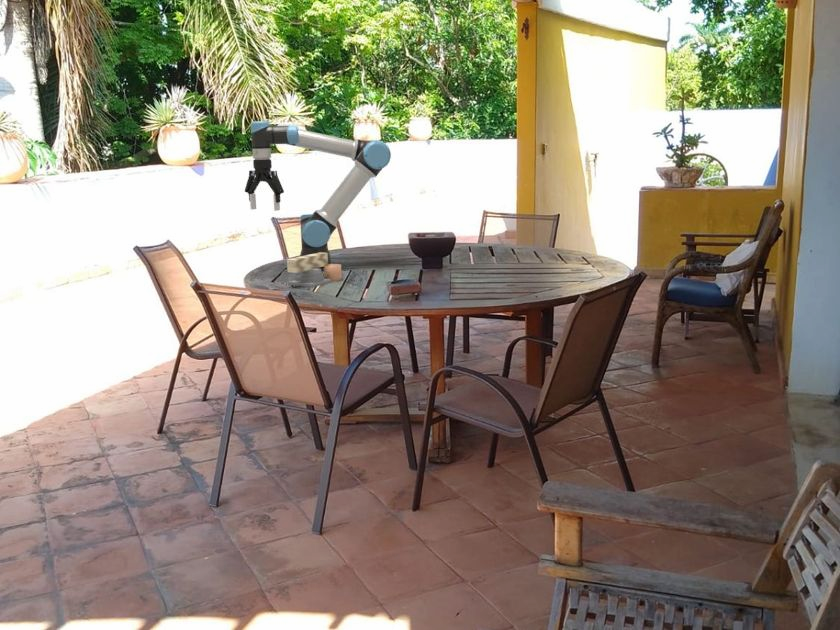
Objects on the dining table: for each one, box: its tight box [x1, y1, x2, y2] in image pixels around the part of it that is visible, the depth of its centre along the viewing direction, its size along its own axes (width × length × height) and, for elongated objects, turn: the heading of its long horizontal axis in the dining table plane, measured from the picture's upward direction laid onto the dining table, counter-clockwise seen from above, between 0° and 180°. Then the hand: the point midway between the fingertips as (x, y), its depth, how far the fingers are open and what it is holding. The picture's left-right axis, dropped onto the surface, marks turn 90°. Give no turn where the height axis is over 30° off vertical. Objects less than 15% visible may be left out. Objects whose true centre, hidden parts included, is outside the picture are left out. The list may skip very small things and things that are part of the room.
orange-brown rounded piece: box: [323, 263, 343, 282], centre depth 327 cm, size 7×7×6 cm
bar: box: [286, 252, 328, 274], centre depth 318 cm, size 20×4×5 cm, turn 148°
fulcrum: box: [287, 268, 332, 288], centre depth 320 cm, size 12×12×6 cm
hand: (265, 209), depth 343 cm, fingers open, 13 cm apart
